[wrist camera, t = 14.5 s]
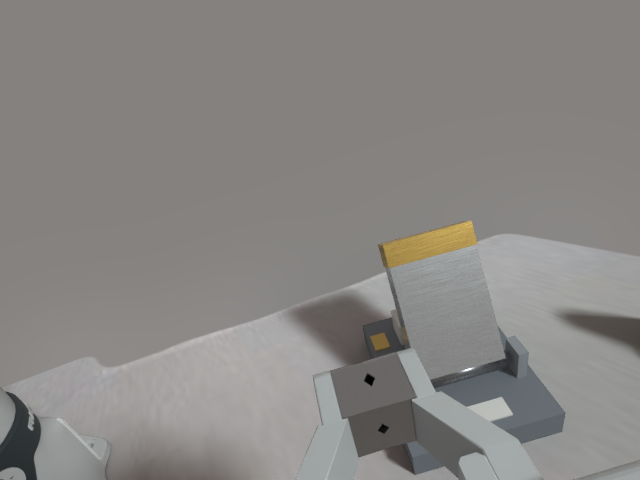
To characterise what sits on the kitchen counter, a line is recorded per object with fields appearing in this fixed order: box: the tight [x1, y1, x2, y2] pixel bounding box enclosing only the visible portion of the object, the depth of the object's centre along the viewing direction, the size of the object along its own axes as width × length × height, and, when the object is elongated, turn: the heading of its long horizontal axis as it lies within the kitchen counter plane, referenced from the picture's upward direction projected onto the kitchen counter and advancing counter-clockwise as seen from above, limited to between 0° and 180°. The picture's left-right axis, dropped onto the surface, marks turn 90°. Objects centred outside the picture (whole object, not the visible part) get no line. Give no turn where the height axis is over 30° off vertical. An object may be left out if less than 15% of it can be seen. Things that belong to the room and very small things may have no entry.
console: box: [363, 318, 565, 475], centre depth 47 cm, size 18×15×6 cm
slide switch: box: [391, 310, 405, 346], centre depth 51 cm, size 3×3×4 cm
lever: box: [378, 221, 511, 389], centre depth 43 cm, size 3×10×16 cm
